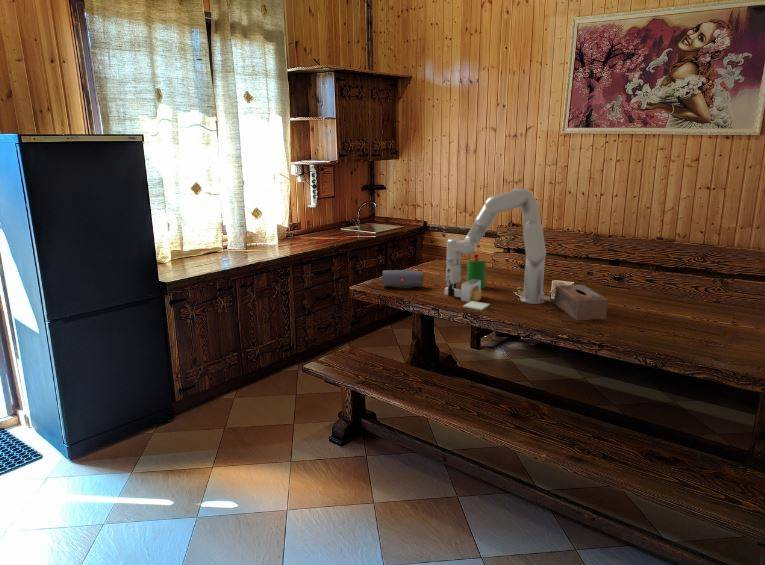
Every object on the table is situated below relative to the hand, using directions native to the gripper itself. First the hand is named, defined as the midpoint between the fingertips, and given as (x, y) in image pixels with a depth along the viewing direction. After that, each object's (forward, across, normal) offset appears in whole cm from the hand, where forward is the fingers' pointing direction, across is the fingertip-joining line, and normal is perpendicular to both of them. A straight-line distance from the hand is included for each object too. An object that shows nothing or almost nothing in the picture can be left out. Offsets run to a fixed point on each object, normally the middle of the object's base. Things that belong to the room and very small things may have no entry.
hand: (452, 294), depth 296 cm
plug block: (0, 0, -13) cm, 13 cm away
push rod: (0, 0, -3) cm, 3 cm away
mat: (0, -11, -19) cm, 22 cm away
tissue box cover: (+1, +10, -64) cm, 65 cm away
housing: (0, 0, -11) cm, 11 cm away
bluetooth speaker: (+1, -2, +31) cm, 31 cm away
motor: (+1, +22, -3) cm, 22 cm away
